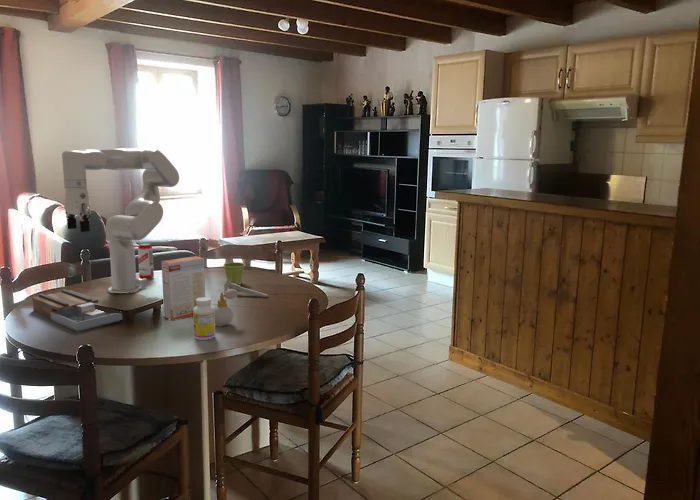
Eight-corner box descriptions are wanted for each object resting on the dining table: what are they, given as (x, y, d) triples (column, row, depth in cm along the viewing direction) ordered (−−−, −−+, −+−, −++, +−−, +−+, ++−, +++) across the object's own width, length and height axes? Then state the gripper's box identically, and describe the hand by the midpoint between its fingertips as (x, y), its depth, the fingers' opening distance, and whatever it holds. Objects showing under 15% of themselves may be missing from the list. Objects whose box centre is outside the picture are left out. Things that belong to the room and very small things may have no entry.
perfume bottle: (207, 326, 190) (206, 293, 188) (221, 318, 199) (220, 286, 197) (227, 329, 188) (226, 295, 186) (240, 321, 197) (239, 288, 195)
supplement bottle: (196, 333, 183) (194, 296, 181) (216, 333, 184) (215, 296, 181) (192, 341, 176) (190, 301, 174) (213, 340, 177) (212, 301, 175)
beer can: (149, 280, 251) (147, 245, 248) (136, 279, 252) (134, 244, 249) (156, 277, 257) (155, 243, 254) (144, 276, 258) (142, 242, 255)
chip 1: (90, 302, 196) (95, 303, 195) (91, 316, 197) (96, 317, 196) (76, 305, 192) (81, 307, 191) (77, 319, 193) (82, 321, 191)
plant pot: (242, 286, 245) (242, 267, 243) (221, 285, 245) (221, 266, 243) (247, 281, 254) (246, 262, 252) (226, 280, 254) (226, 262, 252)
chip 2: (105, 311, 193) (105, 320, 193) (96, 309, 195) (97, 317, 196) (92, 315, 188) (92, 323, 189) (83, 312, 191) (84, 320, 192)
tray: (95, 310, 205) (95, 302, 205) (122, 320, 195) (122, 312, 194) (51, 320, 193) (50, 312, 192) (77, 331, 182) (76, 323, 182)
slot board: (71, 302, 214) (70, 288, 213) (98, 313, 202) (97, 297, 201) (33, 310, 203) (32, 295, 202) (59, 322, 191) (58, 305, 190)
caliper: (224, 294, 232) (223, 279, 231) (225, 293, 233) (225, 279, 232) (269, 298, 227) (269, 283, 226) (270, 298, 228) (270, 283, 227)
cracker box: (198, 309, 209) (196, 255, 205) (206, 313, 205) (205, 257, 201) (163, 317, 199) (160, 260, 196) (171, 321, 195) (168, 263, 191)
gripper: (97, 185, 204) (100, 231, 207) (74, 182, 214) (77, 226, 218) (77, 186, 198) (80, 233, 201) (54, 183, 209) (57, 228, 212)
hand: (78, 230), depth 210 cm, fingers open, 9 cm apart
